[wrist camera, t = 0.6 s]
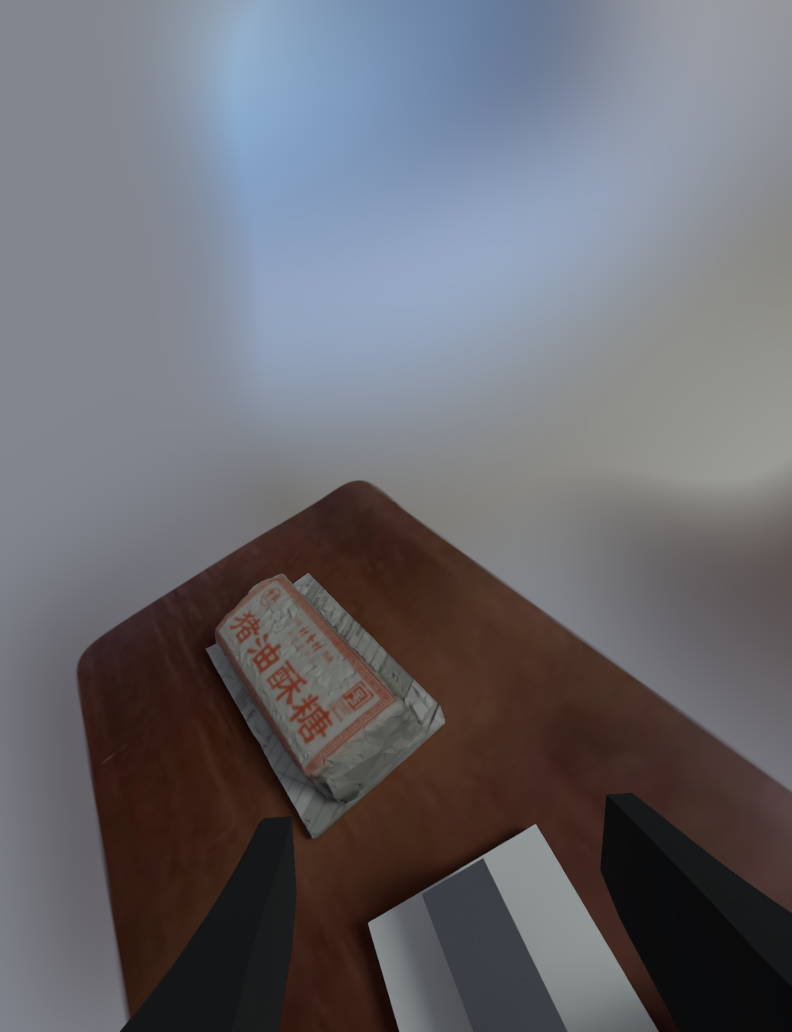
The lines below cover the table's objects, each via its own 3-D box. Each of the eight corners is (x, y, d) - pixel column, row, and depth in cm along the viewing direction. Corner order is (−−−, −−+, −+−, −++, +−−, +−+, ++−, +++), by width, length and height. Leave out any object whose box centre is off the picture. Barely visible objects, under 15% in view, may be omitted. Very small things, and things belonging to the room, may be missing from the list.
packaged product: (436, 679, 30) (284, 809, 26) (453, 724, 33) (319, 846, 29) (293, 543, 43) (180, 618, 39) (315, 584, 46) (211, 657, 42)
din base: (679, 1072, 19) (680, 1069, 19) (461, 1223, 18) (455, 1225, 18) (537, 832, 26) (535, 824, 26) (374, 929, 25) (367, 922, 25)
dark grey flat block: (588, 1074, 18) (587, 1071, 18) (512, 1126, 18) (508, 1124, 17) (486, 866, 24) (483, 858, 23) (426, 901, 23) (421, 894, 23)
